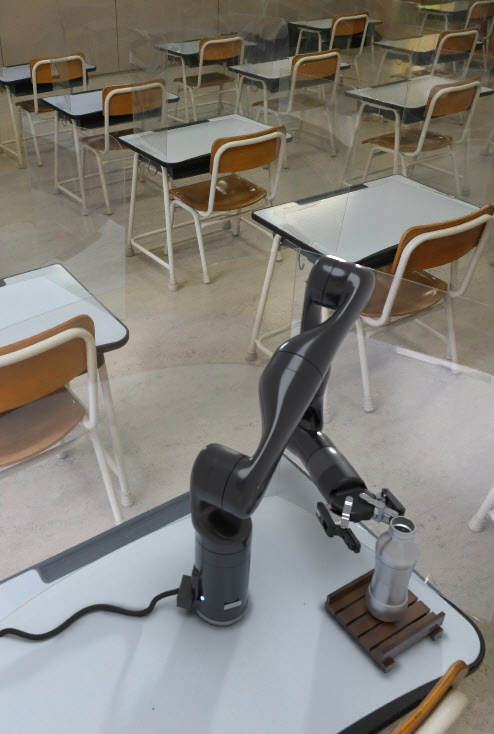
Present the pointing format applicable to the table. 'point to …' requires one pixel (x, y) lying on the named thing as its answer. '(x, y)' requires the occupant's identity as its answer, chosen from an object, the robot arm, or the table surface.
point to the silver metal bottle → (392, 570)
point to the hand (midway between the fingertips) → (382, 544)
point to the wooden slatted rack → (360, 623)
